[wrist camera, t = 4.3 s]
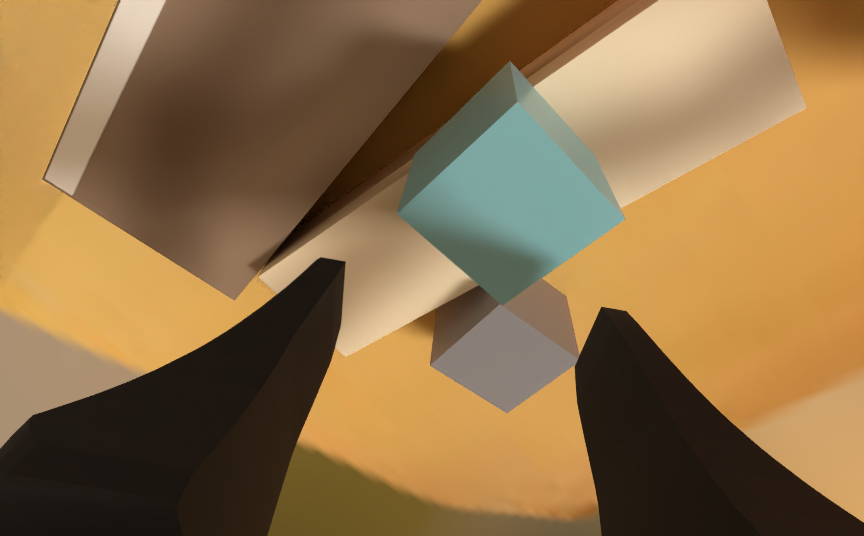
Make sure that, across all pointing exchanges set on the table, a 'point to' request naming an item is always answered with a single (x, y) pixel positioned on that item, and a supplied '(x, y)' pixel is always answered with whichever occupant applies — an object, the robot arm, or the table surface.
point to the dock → (236, 117)
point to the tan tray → (591, 121)
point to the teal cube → (508, 189)
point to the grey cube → (505, 342)
